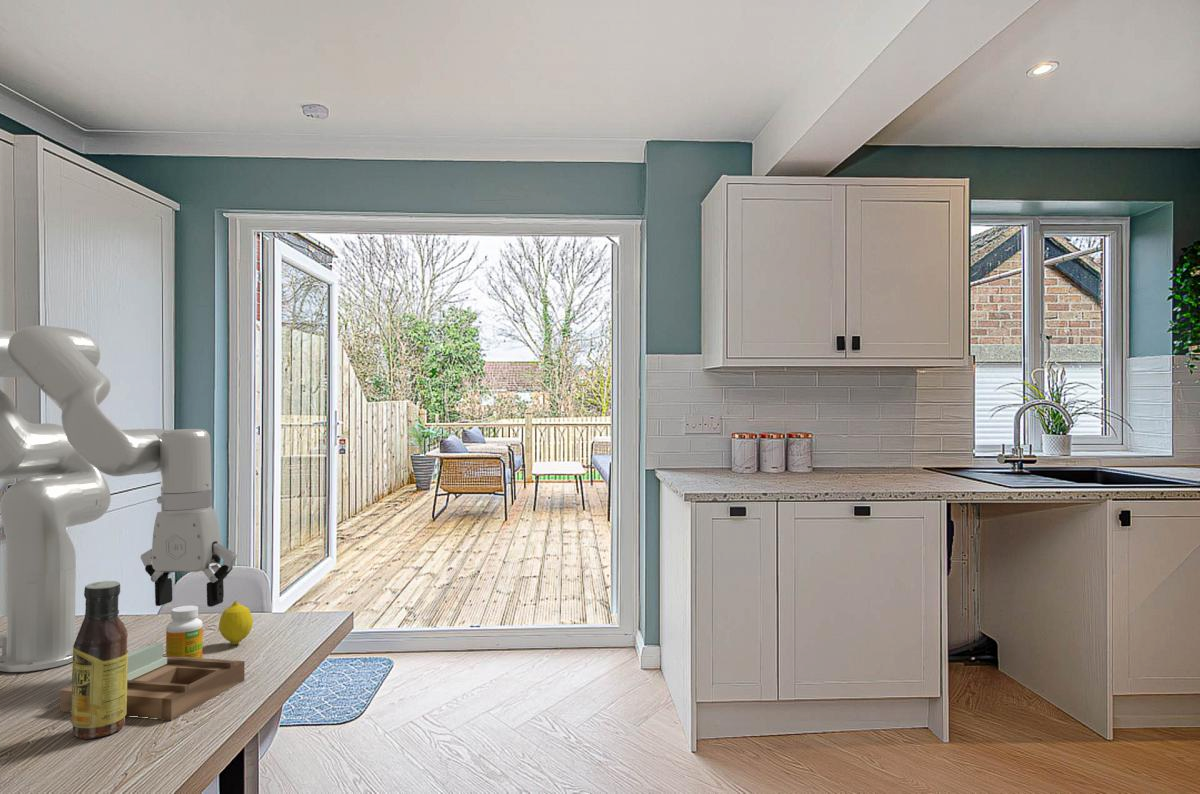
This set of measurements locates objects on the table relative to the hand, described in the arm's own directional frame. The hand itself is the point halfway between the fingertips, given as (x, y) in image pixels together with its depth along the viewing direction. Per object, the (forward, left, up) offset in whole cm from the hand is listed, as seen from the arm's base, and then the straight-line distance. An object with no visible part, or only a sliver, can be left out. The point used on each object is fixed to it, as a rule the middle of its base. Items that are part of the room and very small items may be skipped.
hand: (189, 604), depth 128 cm
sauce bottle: (+6, -25, -11) cm, 28 cm away
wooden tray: (+4, -12, -10) cm, 16 cm away
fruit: (0, +12, -11) cm, 16 cm away
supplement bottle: (-1, 0, -11) cm, 11 cm away
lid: (-2, -12, -7) cm, 14 cm away
